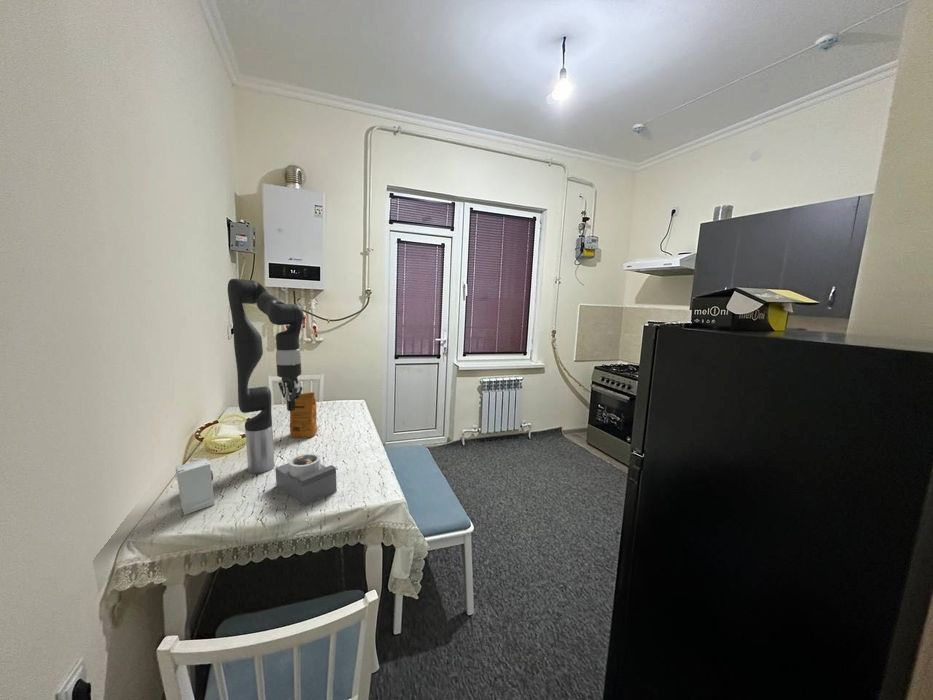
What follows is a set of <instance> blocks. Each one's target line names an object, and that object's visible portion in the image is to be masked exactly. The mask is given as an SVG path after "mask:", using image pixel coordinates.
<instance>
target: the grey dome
mask: <svg viewBox="0 0 933 700" xmlns="http://www.w3.org/2000/svg"><path fill="white" fill-rule="evenodd" d="M310 463H313V458H312V457H303V456H302V457H300V458H298V460H297V465H306V464H310Z"/></svg>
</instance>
